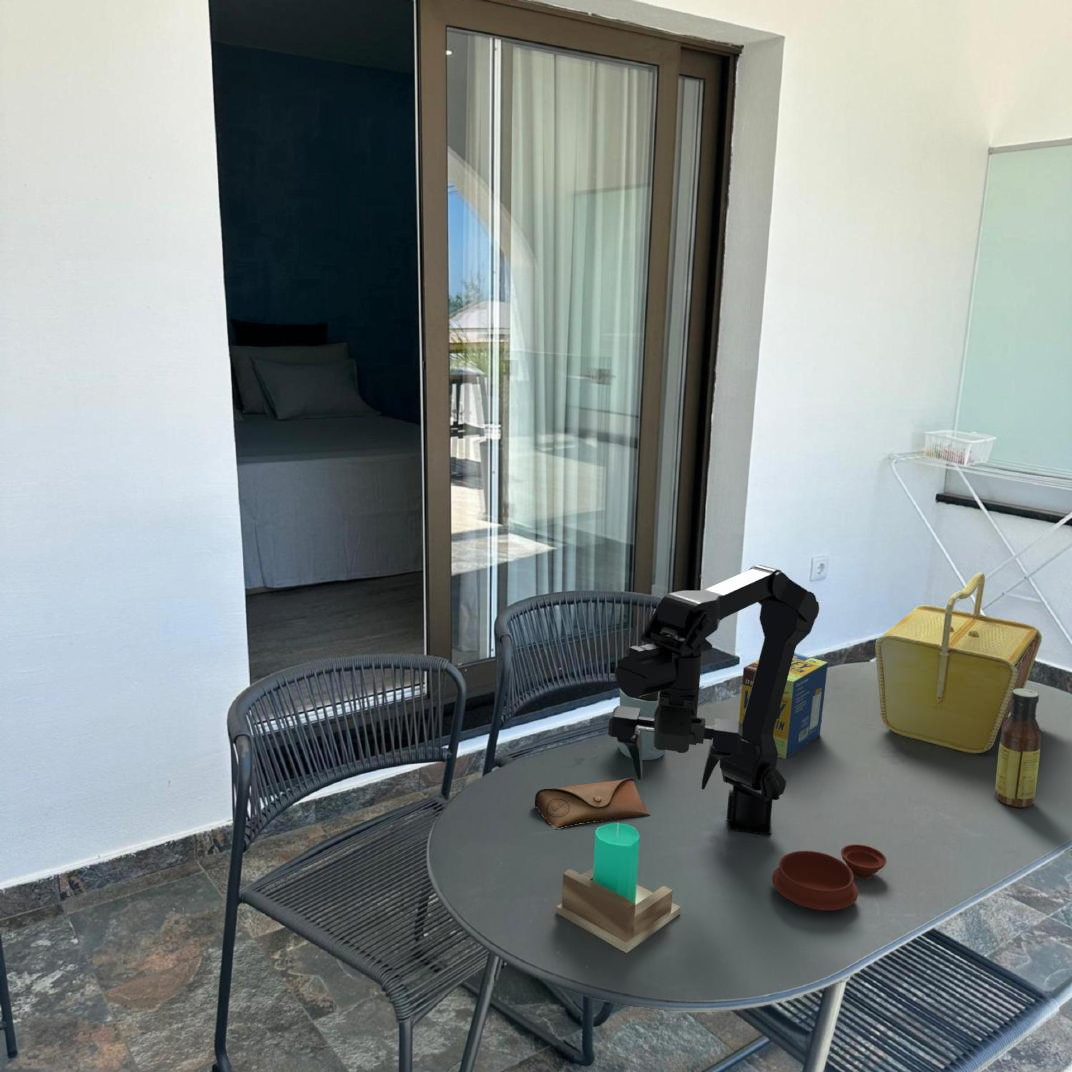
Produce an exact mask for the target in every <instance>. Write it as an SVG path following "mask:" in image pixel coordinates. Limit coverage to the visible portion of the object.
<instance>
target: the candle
mask: <svg viewBox="0 0 1072 1072" xmlns="http://www.w3.org/2000/svg"><path fill="white" fill-rule="evenodd" d="M640 836H641V835H640V834H639V832H638V830H637V828H636V827H634V826H632V825H630V824H627V823H621V822H620V823H619V822H612V823H607V824H603V825H601V826H598V827H597V828H596V830H595V832H594V849H593V850H594V852H593V867H592V868H593V881H594V882H596V883H598V884H600V885H602V886H604V887H606V888H608V889H609V890H611V891H613V892H615V893H617V894H619V895H621V896H623V897H625V898H627V899H628V900H630V901H632V902H634V903H636V887H637V885H638V884H637V883H638V868H639V852H640V851H639V850H640Z"/></svg>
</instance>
